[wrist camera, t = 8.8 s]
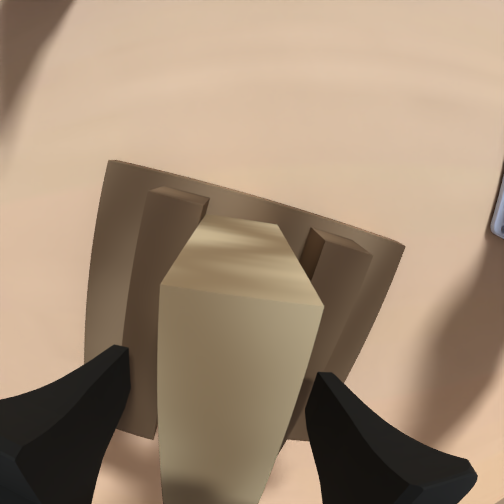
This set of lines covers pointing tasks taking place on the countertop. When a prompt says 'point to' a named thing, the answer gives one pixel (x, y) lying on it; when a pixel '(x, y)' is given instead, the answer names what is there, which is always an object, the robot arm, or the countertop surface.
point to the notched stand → (171, 244)
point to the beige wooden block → (230, 359)
